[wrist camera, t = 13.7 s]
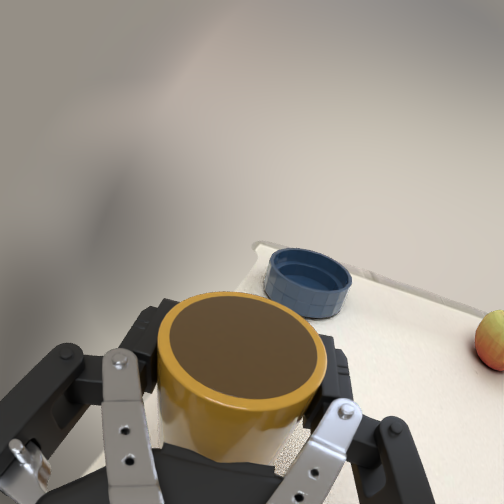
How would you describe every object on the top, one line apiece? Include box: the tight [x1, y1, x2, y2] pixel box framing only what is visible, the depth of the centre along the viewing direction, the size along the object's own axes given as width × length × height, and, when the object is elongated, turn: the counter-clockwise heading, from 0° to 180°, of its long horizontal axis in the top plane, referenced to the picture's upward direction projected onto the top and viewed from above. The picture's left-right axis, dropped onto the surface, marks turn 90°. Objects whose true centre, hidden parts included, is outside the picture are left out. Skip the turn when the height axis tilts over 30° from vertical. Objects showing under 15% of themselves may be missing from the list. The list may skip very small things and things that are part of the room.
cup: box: [157, 291, 327, 466], centre depth 13 cm, size 6×6×11 cm
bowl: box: [264, 248, 352, 318], centre depth 43 cm, size 11×11×4 cm
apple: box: [475, 310, 504, 371], centre depth 35 cm, size 10×10×8 cm
